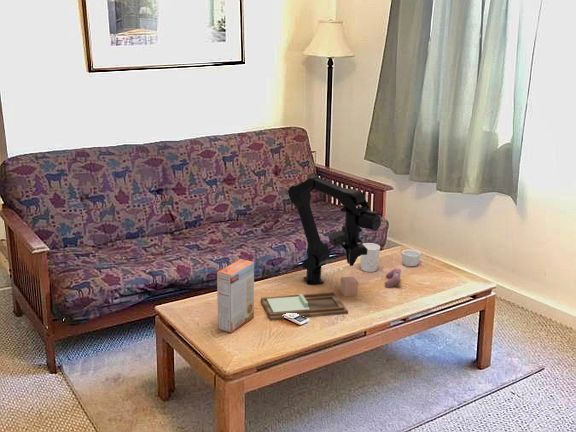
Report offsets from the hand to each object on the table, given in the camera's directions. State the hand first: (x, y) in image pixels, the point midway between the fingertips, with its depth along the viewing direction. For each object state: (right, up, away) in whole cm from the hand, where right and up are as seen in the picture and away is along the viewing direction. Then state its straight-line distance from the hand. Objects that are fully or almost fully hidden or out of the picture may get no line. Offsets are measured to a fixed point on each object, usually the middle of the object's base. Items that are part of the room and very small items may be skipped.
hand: (350, 264), depth 255 cm
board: (-17, -15, -9) cm, 25 cm away
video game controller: (+18, -8, +14) cm, 24 cm away
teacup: (+29, -2, +34) cm, 44 cm away
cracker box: (-41, -18, -23) cm, 50 cm away
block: (0, -11, +4) cm, 12 cm away
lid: (-23, -14, -11) cm, 29 cm away
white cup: (+10, -4, +27) cm, 29 cm away
